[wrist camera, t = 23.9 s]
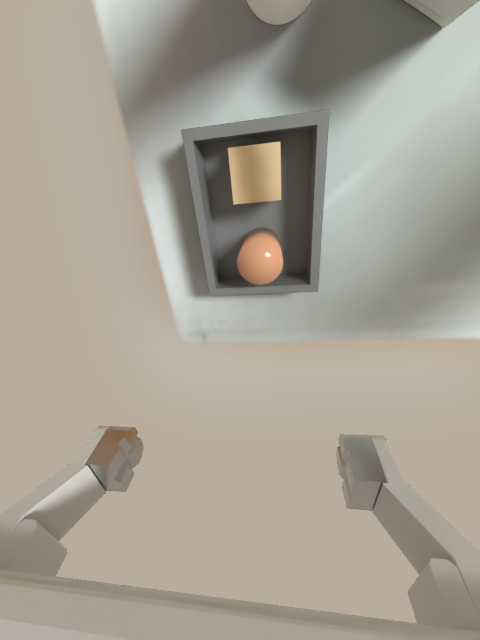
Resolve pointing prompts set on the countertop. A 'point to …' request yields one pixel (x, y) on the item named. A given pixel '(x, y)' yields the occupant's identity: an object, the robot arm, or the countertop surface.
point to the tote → (280, 216)
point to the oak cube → (255, 172)
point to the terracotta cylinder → (260, 256)
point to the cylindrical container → (278, 10)
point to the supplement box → (442, 9)
